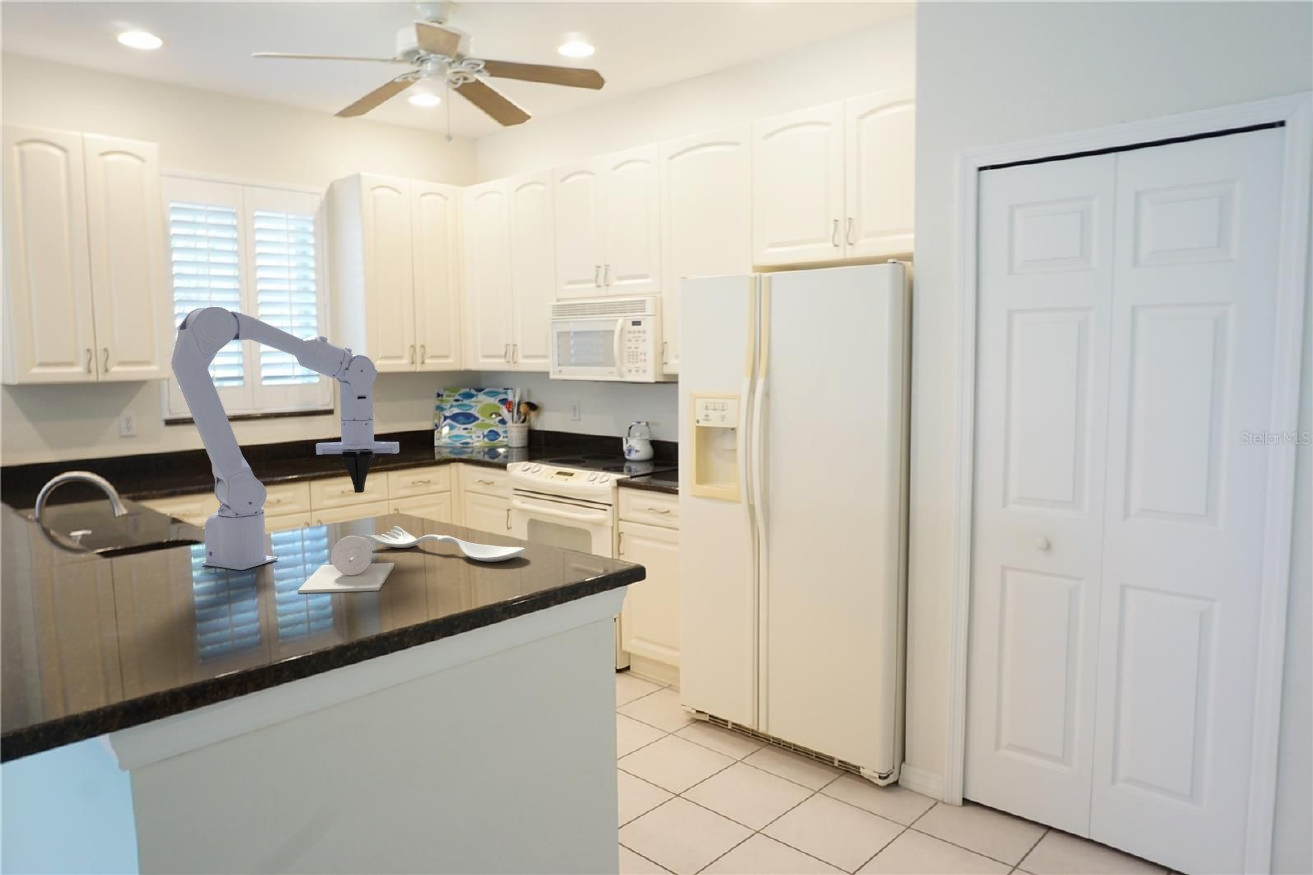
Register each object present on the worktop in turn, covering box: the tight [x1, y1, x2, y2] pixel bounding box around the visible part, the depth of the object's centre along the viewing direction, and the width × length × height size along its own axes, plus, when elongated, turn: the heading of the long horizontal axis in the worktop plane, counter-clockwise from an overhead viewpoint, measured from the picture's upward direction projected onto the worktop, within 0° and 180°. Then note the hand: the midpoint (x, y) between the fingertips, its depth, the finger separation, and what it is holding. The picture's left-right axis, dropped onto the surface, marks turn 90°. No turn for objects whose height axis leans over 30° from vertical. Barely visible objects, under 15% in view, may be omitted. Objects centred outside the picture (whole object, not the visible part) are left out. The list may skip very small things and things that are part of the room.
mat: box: [297, 562, 395, 594], centre depth 140 cm, size 15×12×1 cm
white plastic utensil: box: [363, 525, 526, 563], centre depth 157 cm, size 9×32×3 cm, turn 65°
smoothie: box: [330, 535, 374, 575], centre depth 142 cm, size 6×6×14 cm
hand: (359, 491), depth 161 cm, fingers closed
